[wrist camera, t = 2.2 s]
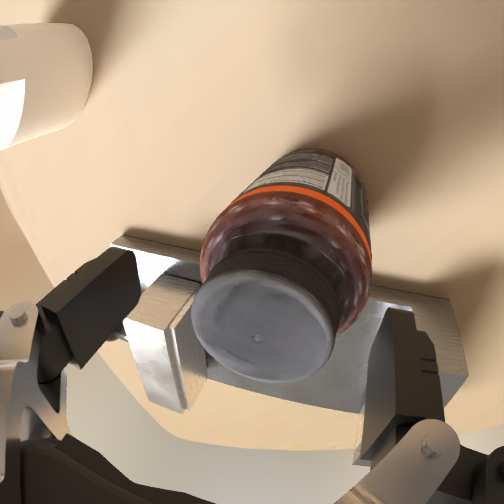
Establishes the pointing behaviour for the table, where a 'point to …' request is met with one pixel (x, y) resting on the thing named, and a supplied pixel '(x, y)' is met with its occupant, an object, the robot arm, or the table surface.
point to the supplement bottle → (285, 269)
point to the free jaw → (166, 343)
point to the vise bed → (346, 344)
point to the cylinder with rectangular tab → (41, 79)
